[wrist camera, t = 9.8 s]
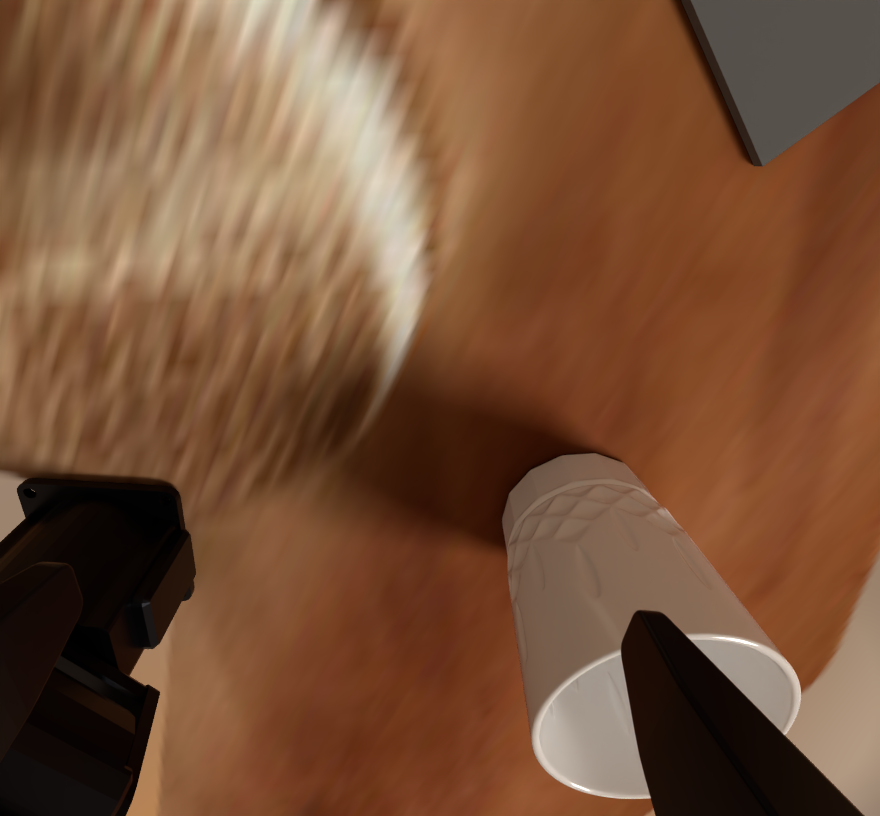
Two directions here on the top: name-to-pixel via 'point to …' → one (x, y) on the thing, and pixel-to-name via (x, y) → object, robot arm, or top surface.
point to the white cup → (614, 616)
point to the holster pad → (787, 63)
